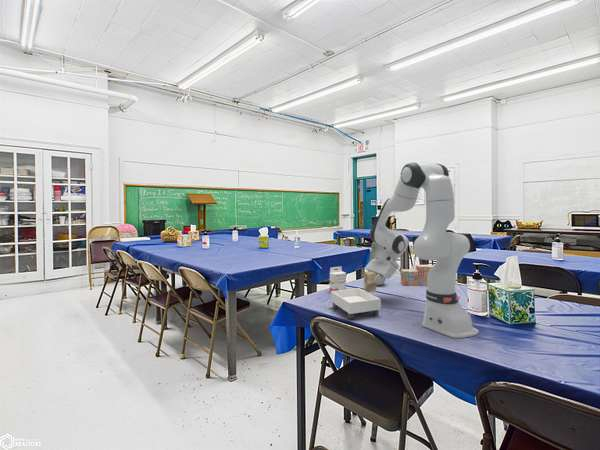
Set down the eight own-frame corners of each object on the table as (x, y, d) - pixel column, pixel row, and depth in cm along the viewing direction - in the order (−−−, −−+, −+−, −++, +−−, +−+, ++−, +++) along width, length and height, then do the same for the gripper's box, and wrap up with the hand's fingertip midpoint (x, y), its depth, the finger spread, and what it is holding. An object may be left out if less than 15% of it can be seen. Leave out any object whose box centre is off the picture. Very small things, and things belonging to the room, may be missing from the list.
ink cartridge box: (333, 294, 188) (333, 269, 187) (329, 292, 192) (329, 267, 191) (346, 292, 192) (346, 267, 190) (341, 290, 196) (341, 266, 195)
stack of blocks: (402, 286, 203) (403, 266, 202) (400, 283, 209) (400, 264, 208) (438, 286, 201) (438, 266, 200) (435, 283, 207) (435, 264, 206)
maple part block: (376, 291, 172) (376, 272, 171) (368, 292, 170) (368, 273, 170) (371, 289, 176) (371, 271, 175) (364, 290, 175) (364, 272, 174)
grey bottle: (370, 282, 213) (370, 239, 211) (387, 283, 209) (387, 240, 207) (367, 286, 204) (367, 241, 202) (384, 287, 200) (384, 242, 198)
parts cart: (380, 316, 152) (380, 298, 151) (349, 321, 147) (349, 303, 146) (359, 303, 171) (359, 288, 170) (331, 307, 165) (330, 291, 165)
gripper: (372, 253, 184) (357, 272, 182) (394, 259, 165) (377, 280, 162) (379, 261, 186) (364, 279, 184) (401, 267, 167) (385, 288, 164)
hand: (370, 280), depth 173 cm, fingers closed on maple part block, 4 cm apart
